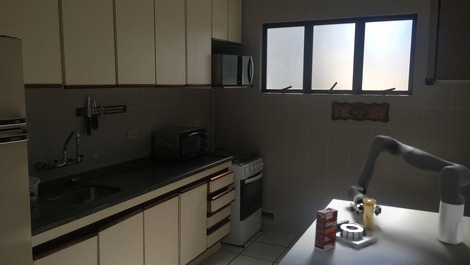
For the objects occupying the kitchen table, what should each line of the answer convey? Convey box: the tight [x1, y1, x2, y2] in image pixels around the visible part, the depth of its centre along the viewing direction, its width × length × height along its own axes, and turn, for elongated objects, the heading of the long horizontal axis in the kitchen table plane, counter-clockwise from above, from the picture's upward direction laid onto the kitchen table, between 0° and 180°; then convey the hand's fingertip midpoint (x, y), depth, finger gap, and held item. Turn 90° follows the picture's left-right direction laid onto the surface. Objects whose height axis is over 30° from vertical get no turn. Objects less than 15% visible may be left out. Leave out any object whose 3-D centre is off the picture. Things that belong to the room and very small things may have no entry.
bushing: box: [362, 197, 377, 232], centre depth 188 cm, size 6×6×14 cm
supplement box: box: [313, 207, 339, 253], centre depth 165 cm, size 9×5×16 cm, turn 131°
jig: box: [336, 219, 377, 249], centre depth 176 cm, size 16×13×5 cm
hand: (367, 213), depth 190 cm, fingers open, 8 cm apart
